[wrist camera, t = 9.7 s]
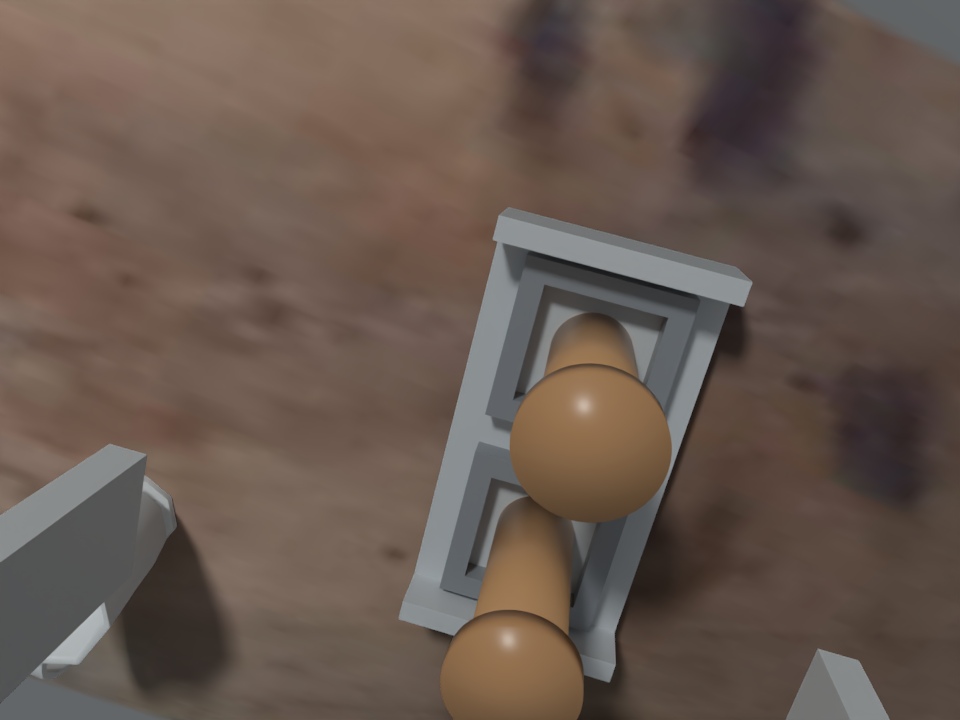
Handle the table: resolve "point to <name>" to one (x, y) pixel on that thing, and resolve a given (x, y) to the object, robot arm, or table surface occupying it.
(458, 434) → the tray
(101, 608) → the cup
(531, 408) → the tan ball-headed post
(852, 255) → the table surface
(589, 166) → the table surface
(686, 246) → the table surface
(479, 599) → the rounded wooden peg
